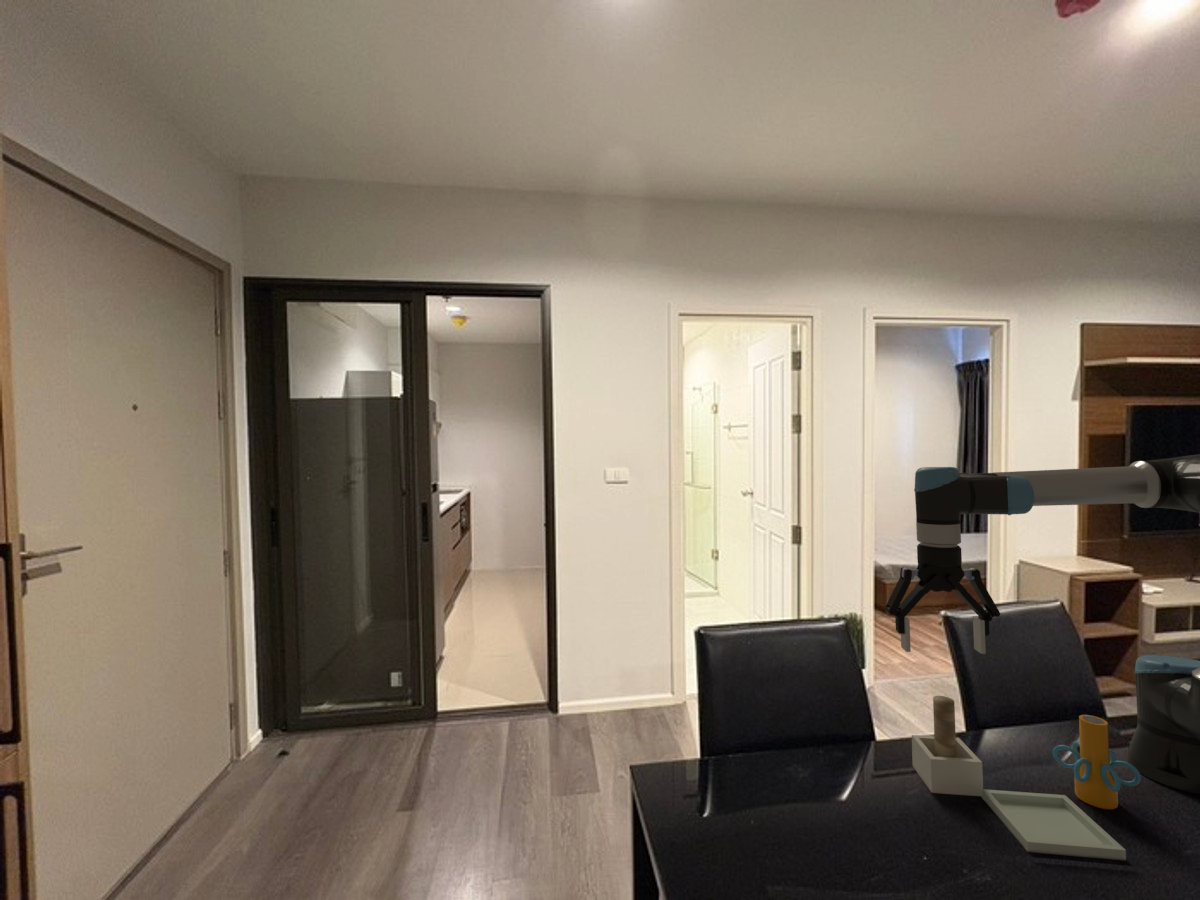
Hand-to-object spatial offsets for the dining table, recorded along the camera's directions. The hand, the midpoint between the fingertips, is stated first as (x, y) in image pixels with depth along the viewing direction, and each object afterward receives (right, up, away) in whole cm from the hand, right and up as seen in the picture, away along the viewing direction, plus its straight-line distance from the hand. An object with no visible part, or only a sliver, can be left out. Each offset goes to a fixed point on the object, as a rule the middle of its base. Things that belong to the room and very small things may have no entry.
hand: (942, 650), depth 107 cm
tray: (+10, -26, -14) cm, 31 cm away
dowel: (+1, -26, 0) cm, 26 cm away
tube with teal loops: (+25, -26, -6) cm, 37 cm away
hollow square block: (+1, -27, 0) cm, 27 cm away
